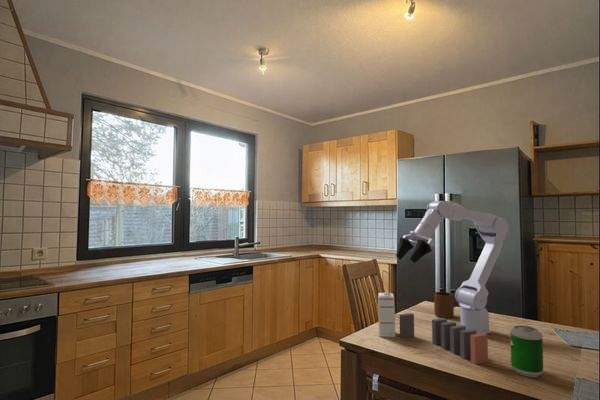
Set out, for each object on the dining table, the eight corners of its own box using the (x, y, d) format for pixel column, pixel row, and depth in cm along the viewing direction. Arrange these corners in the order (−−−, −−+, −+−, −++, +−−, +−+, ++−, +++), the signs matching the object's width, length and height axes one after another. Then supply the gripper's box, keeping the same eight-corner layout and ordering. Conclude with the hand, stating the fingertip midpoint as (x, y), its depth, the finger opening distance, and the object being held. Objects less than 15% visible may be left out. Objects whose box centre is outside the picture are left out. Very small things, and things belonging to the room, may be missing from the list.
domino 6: (483, 359, 107) (482, 332, 107) (487, 361, 106) (487, 334, 106) (470, 362, 105) (470, 335, 106) (475, 364, 104) (474, 337, 104)
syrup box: (395, 337, 126) (395, 296, 126) (378, 336, 127) (378, 295, 127) (394, 332, 131) (394, 292, 132) (378, 331, 133) (377, 292, 133)
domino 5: (472, 354, 111) (472, 328, 111) (476, 356, 109) (476, 330, 110) (460, 357, 109) (459, 330, 109) (464, 359, 108) (463, 332, 108)
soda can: (550, 376, 96) (548, 331, 97) (530, 380, 94) (528, 335, 94) (524, 364, 103) (523, 323, 104) (504, 368, 101) (503, 326, 101)
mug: (458, 313, 154) (458, 291, 154) (467, 318, 147) (467, 295, 147) (431, 313, 154) (431, 291, 154) (439, 319, 146) (438, 296, 147)
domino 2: (444, 341, 122) (443, 317, 122) (447, 342, 121) (447, 319, 121) (432, 343, 120) (432, 319, 120) (435, 345, 119) (435, 321, 119)
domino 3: (452, 345, 118) (452, 321, 119) (456, 347, 117) (456, 322, 117) (441, 347, 117) (440, 323, 117) (444, 349, 115) (444, 324, 115)
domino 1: (411, 335, 128) (410, 313, 128) (414, 336, 127) (413, 314, 127) (399, 337, 126) (399, 314, 126) (402, 338, 125) (402, 315, 125)
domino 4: (462, 349, 115) (461, 324, 115) (466, 351, 113) (465, 326, 113) (450, 352, 113) (449, 326, 113) (454, 354, 111) (453, 328, 112)
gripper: (405, 220, 131) (385, 249, 128) (433, 222, 117) (411, 255, 114) (417, 232, 133) (397, 261, 130) (446, 235, 119) (425, 268, 116)
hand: (405, 259), depth 122 cm, fingers open, 7 cm apart
